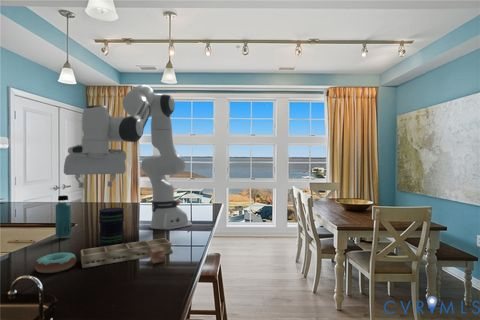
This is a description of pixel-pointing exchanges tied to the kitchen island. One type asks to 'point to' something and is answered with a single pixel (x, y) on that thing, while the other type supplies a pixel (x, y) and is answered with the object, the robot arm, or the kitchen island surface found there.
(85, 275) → the kitchen island surface
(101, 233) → the storage jar
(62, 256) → the donut
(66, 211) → the beverage bottle
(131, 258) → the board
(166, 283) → the kitchen island surface
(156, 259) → the count cube
